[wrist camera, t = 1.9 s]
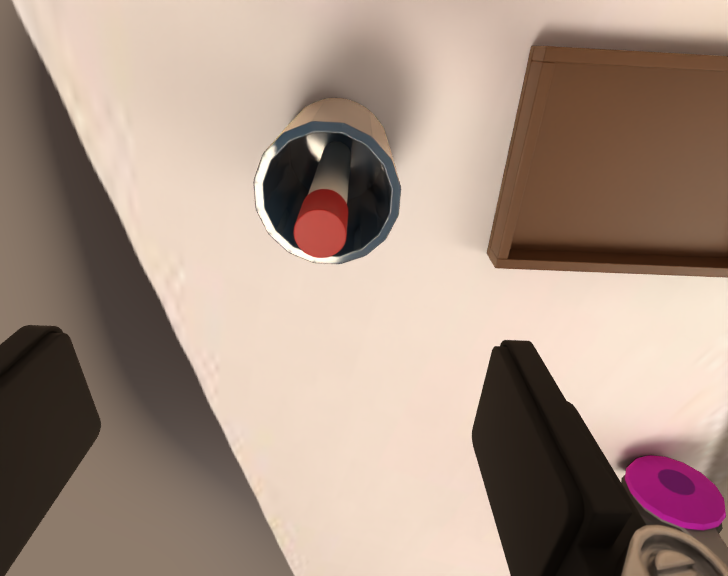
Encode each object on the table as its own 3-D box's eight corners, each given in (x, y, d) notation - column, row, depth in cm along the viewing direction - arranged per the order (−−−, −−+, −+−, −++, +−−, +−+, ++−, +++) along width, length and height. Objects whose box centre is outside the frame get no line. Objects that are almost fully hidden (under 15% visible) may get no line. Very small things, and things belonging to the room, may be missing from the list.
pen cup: (282, 94, 28) (247, 117, 19) (393, 100, 28) (407, 125, 20) (287, 201, 32) (259, 261, 23) (385, 206, 32) (393, 266, 23)
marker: (320, 139, 29) (292, 208, 17) (352, 140, 29) (347, 210, 17) (321, 171, 30) (294, 257, 18) (351, 172, 30) (346, 259, 18)
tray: (531, 45, 27) (546, 46, 24) (858, 64, 27) (903, 65, 25) (486, 253, 34) (495, 268, 32) (745, 264, 35) (771, 279, 32)
